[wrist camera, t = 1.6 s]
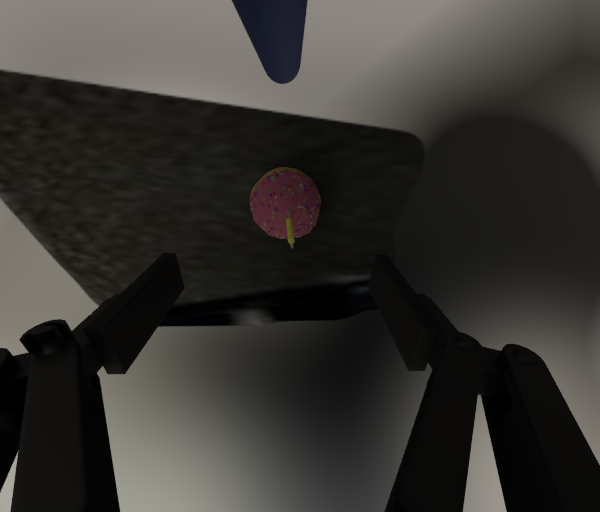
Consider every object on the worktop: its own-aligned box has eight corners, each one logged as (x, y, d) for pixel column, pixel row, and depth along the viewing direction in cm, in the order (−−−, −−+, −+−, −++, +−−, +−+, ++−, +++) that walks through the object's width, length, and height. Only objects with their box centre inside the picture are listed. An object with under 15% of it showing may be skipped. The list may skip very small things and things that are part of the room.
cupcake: (326, 211, 33) (341, 249, 23) (272, 234, 35) (264, 279, 24) (302, 151, 30) (307, 163, 19) (243, 179, 31) (218, 205, 20)
